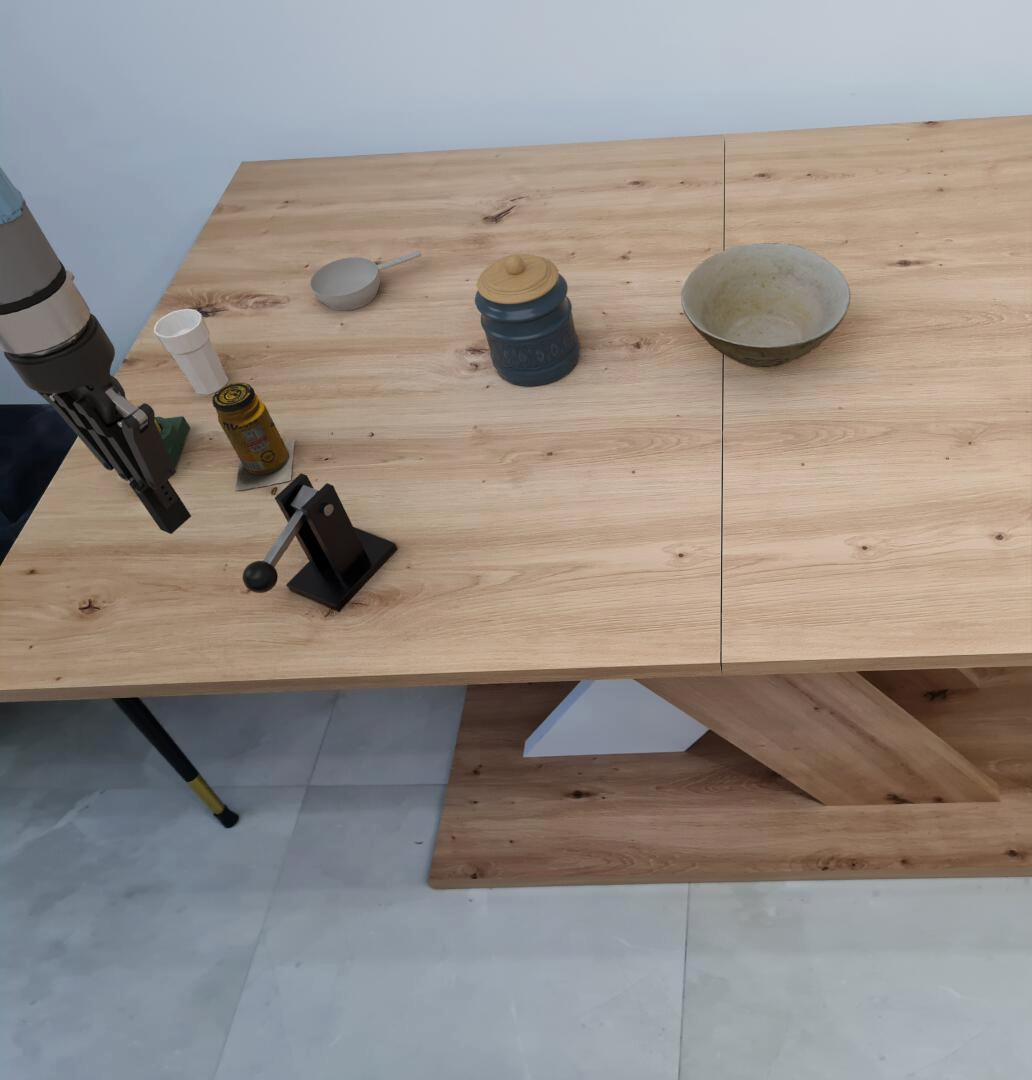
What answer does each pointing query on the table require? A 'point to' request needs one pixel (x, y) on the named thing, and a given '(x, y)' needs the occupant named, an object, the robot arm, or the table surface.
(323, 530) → the lever base
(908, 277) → the table surface
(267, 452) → the condiment
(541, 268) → the canister
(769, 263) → the bowl
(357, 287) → the saucepan
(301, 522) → the ball lever handle
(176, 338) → the cup
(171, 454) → the control block
